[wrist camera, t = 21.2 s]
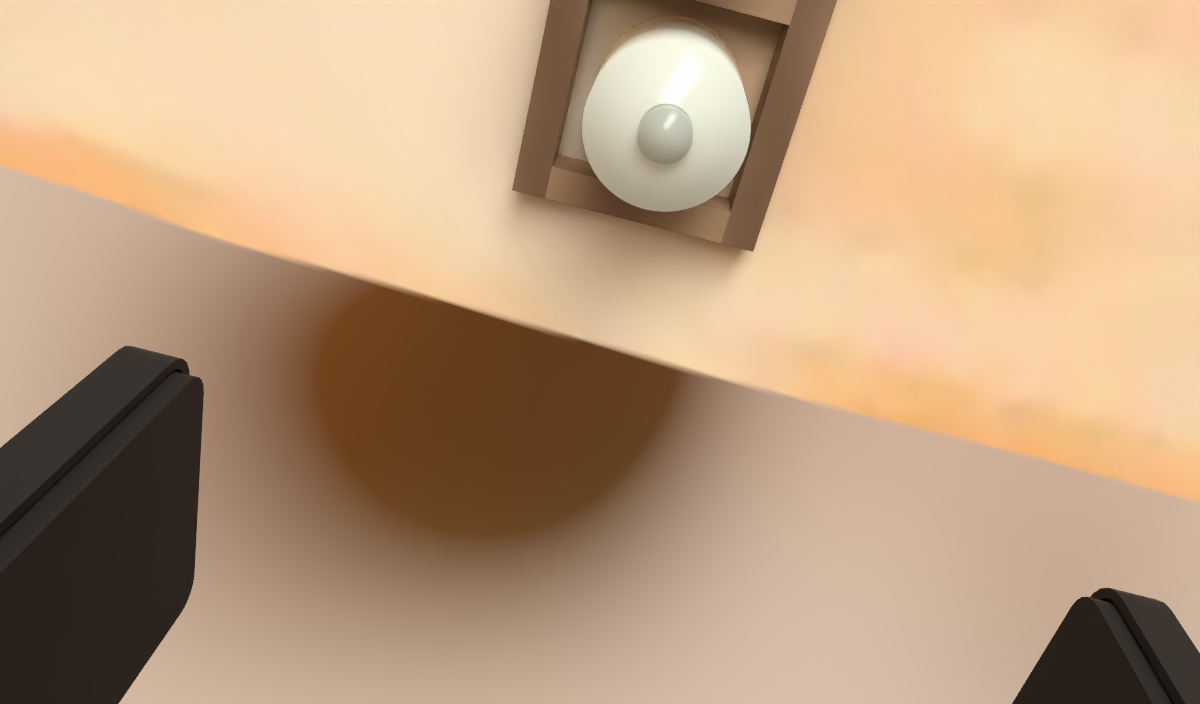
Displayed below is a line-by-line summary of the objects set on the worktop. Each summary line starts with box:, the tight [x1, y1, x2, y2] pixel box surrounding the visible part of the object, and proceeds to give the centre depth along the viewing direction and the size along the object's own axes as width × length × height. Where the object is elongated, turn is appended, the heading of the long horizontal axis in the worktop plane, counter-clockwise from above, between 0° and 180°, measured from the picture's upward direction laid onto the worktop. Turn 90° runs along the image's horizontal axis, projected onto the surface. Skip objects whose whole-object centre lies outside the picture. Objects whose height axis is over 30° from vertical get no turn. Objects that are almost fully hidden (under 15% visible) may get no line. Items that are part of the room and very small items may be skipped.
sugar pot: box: [582, 16, 751, 212], centre depth 31 cm, size 5×5×7 cm
